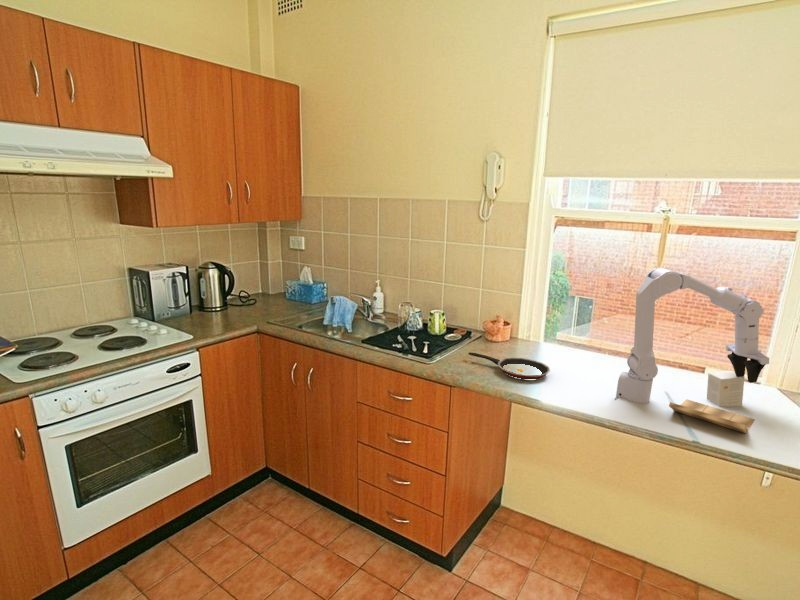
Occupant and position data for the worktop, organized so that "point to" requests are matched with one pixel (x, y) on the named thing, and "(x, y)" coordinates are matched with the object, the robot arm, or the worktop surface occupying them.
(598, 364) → the worktop surface
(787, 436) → the worktop surface
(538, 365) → the frying pan
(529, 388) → the worktop surface
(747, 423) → the laid board
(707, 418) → the plank
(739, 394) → the small box
